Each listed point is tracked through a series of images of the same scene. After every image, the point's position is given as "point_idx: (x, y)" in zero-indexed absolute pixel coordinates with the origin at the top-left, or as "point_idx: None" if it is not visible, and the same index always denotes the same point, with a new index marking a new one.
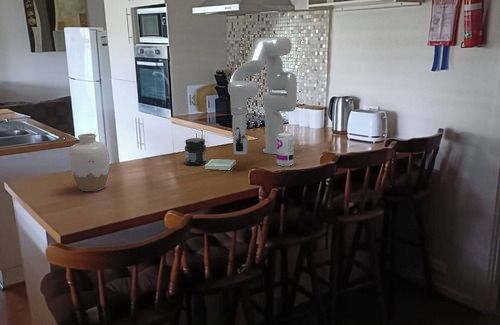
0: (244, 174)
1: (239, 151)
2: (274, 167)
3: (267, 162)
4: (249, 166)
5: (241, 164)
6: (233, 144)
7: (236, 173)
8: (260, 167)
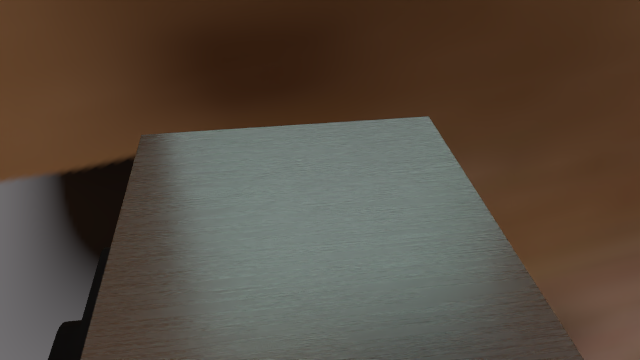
0: (49, 171)
1: None
2: None
3: (578, 243)
4: None
5: (535, 6)
6: (89, 328)
7: (54, 65)
8: None
